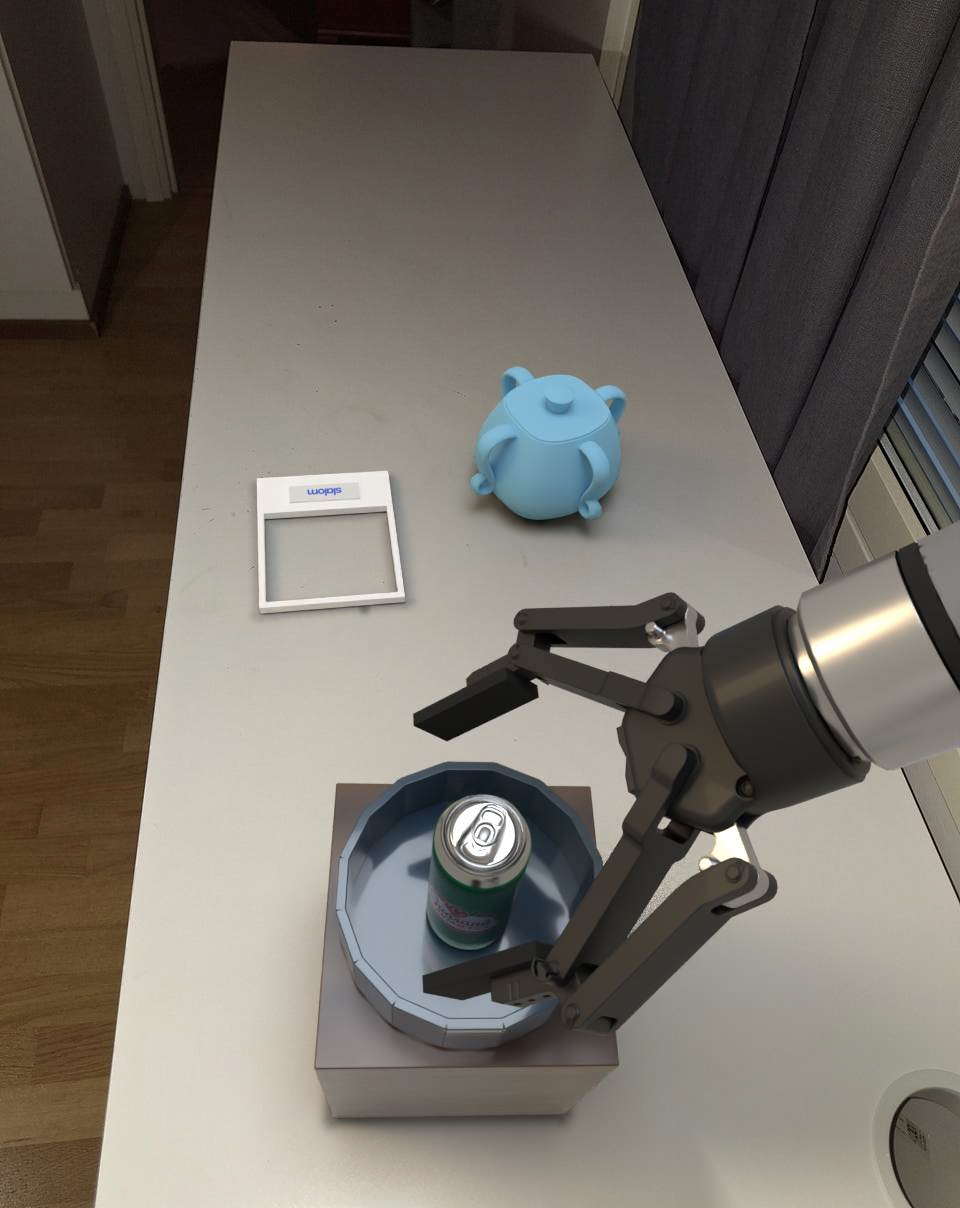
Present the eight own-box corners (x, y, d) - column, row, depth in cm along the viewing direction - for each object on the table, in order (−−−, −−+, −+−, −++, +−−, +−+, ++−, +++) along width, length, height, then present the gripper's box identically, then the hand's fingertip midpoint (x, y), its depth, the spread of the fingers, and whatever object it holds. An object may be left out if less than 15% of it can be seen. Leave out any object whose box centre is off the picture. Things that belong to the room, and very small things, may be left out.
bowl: (602, 1048, 51) (620, 1028, 47) (331, 1051, 50) (326, 1031, 46) (578, 798, 60) (592, 763, 56) (348, 795, 59) (345, 759, 55)
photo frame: (387, 469, 103) (404, 595, 92) (387, 476, 103) (404, 601, 93) (256, 477, 100) (258, 607, 90) (257, 484, 101) (260, 613, 91)
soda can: (411, 928, 54) (415, 853, 44) (449, 854, 56) (461, 770, 47) (488, 968, 53) (509, 901, 43) (522, 891, 55) (550, 812, 46)
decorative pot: (589, 554, 99) (614, 466, 88) (453, 509, 101) (461, 418, 90) (626, 459, 109) (653, 368, 98) (500, 419, 111) (513, 326, 100)
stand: (564, 1114, 67) (619, 1065, 51) (333, 1117, 65) (313, 1069, 49) (549, 886, 77) (590, 785, 61) (348, 885, 75) (336, 782, 59)
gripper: (991, 1042, 30) (505, 1131, 41) (787, 497, 45) (467, 665, 55) (916, 1016, 26) (386, 1125, 36) (715, 416, 40) (380, 617, 51)
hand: (435, 846), depth 46 cm, fingers open, 13 cm apart
